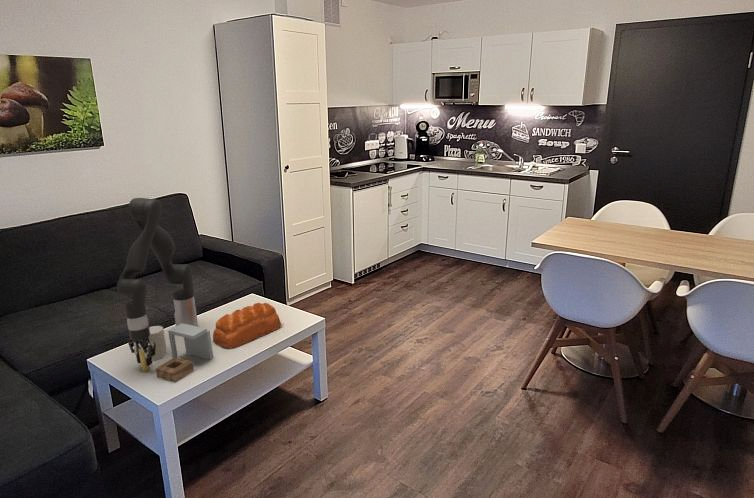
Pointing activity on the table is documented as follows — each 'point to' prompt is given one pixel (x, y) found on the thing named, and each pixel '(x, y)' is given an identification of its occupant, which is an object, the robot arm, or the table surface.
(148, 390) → the table surface
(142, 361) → the peg
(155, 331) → the cup
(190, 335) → the grey arch-shaped block
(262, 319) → the bread
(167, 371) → the socket block
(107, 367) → the table surface
